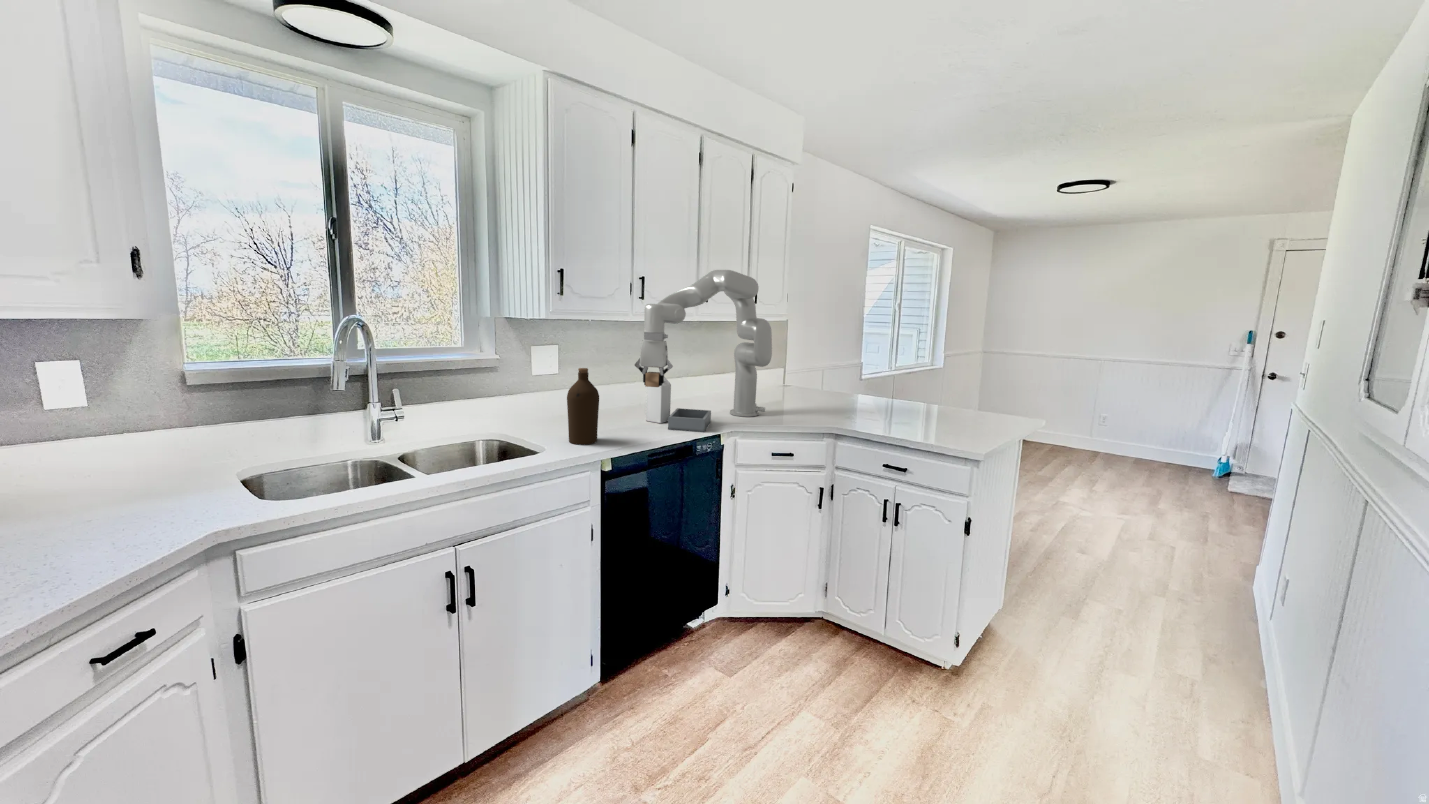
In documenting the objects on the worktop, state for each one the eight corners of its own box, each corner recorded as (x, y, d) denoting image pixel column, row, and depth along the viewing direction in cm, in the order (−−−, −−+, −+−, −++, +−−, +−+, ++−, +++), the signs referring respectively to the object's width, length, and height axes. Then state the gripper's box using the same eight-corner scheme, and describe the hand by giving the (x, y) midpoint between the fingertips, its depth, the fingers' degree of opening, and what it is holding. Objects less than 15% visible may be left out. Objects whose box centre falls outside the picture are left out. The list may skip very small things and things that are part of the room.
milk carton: (645, 421, 232) (646, 374, 229) (655, 418, 238) (656, 372, 235) (660, 423, 229) (661, 376, 226) (670, 420, 235) (671, 374, 232)
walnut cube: (661, 385, 222) (661, 372, 221) (658, 387, 217) (658, 374, 217) (648, 384, 223) (648, 371, 222) (645, 386, 218) (645, 373, 217)
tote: (710, 422, 235) (711, 410, 234) (704, 432, 218) (704, 419, 217) (676, 420, 237) (677, 408, 236) (667, 429, 219) (668, 416, 218)
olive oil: (602, 444, 194) (602, 370, 189) (569, 446, 189) (569, 370, 185) (595, 436, 203) (595, 366, 199) (564, 438, 199) (564, 366, 195)
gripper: (678, 337, 219) (677, 384, 223) (634, 335, 221) (634, 382, 225) (674, 338, 212) (673, 387, 215) (629, 336, 214) (628, 385, 217)
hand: (653, 384), depth 220 cm, fingers closed on walnut cube, 4 cm apart
